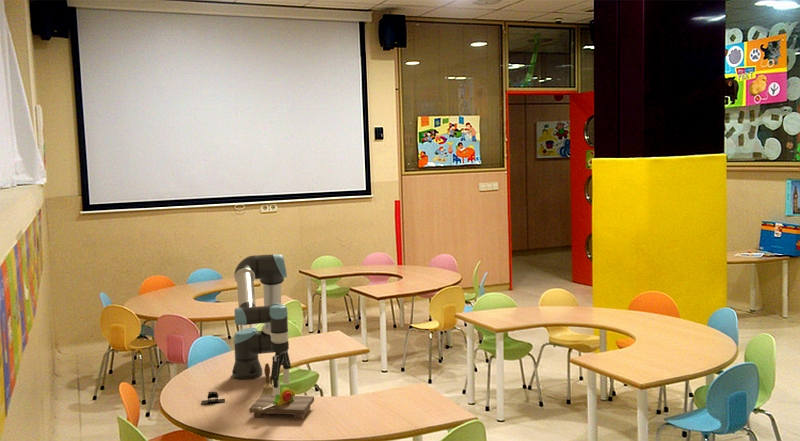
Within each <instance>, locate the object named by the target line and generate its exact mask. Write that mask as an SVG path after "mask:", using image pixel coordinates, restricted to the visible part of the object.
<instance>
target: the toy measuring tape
mask: <svg viewBox="0 0 800 441" xmlns="http://www.w3.org/2000/svg"><path fill="white" fill-rule="evenodd" d="M296 394H297V393H296V391H295V389H294V390H293V389H290V388H289V387H286V386H282V387H281V386H280V395H276V397H275V400H274V401H273V404H270V405H269V406H267V407H265V408H261V407H258V408H257V409H258V410H260V411H262V410H264V409H266V408H269V407H272V406H275V405H277V406H280V405H283V404H285V403H288V402H290V401H293V397H294V396H296Z"/></svg>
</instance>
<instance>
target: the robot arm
mask: <svg viewBox="0 0 800 441" xmlns="http://www.w3.org/2000/svg"><path fill="white" fill-rule="evenodd" d="M233 275H234V281H235V282H236V285H237V286H236V288H237V300H238V304H237V305H238V307H237V308H234V311H233V312H234V323H235V326H246V325H247V326H248V325H257V324H263V325H262V326H261V330H258V329H257V328H256V327H247V328H243V329H240V330H237V331H236V332H235V333H234V335H233V344H234V362H233V364H234V365H233V368H232V371H231V376H232V378H233V379H237V380H252V379H256V378H259V377H261V376H262V375H263V367H262V365H261V362H260V359H259V355H261V354H273V353H274V355H273V356H272V365H271V371H270V374H271V375H270V381H272V386H273V395H280V388H281V385H280V383H281V382H280V381H281V380H280V374H281V373H280V372H281V367H282V383H283V384H285V385H288V384H289V385H290V369H291V368H292V365H291V359H290V355H289V349H290V348H289V346H290V344H289V340H290V339H289V328H288V327H289V326H288V323H289V319H288V315H289V313H288V307H287V305H286V304H282V284H283V282H284V281H285V278H287V277H288V274H287V268H286V263H285V258H284V255H283V254H281V253H280V254H279V253H278V254H277V253H276V254H275V253H272V254H260V255H259V254H256V255H249V256H247V257H245V258H243V259H242V260H241V261H240V262H239V263H238V264H237V265H236V268H235V270H234V274H233ZM255 280H259V282H260V284H262V285H263V288H262V289H263V305H261V306H257V305H256V295H255V286H254V281H255Z"/></svg>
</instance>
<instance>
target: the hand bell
mask: <svg viewBox="0 0 800 441" xmlns="http://www.w3.org/2000/svg"><path fill="white" fill-rule="evenodd" d="M263 371H264V375H265V384H264V385H263V386H262V391H261V393H260V395H259V397H260V396H261V395H273V384H271V382H270V381H271V380H270V376H271V375H270V374H271V368H270V364H269V363H265V366H264V370H263ZM259 397H258V398H259Z"/></svg>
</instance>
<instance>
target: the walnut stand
mask: <svg viewBox="0 0 800 441" xmlns="http://www.w3.org/2000/svg"><path fill="white" fill-rule="evenodd" d="M260 395H261V394H260ZM260 395H259V396H260ZM275 397H276V395H261V396H260V397H258V398H257V400H255V402H253V404H251V406H249V414H253V419H254V420H258V419H259V420H261V419H262V418H263V417H264V416H265V415H266V414H277V415H278V414H281V415H294V421H302V420H303V419H304V418H305V416H306V415H307V414H306V413H308V412H309V411H310V410H311V406H312V404H313V403H314V402H315V396H313V395H312V396H311V395H310V396H308V395H295V396H294V397H293V401H290V402H288V403H285V404H283V405H280V406H277V405H275V406H272V407H269V408H266V409H264V410H262V411H260V410H258V409H257V408H258V407H261V408H265V407H267V406H269V405H270V404H273V401H274V400H275ZM303 417H304V418H303Z"/></svg>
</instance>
